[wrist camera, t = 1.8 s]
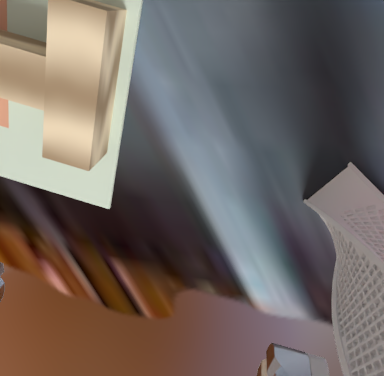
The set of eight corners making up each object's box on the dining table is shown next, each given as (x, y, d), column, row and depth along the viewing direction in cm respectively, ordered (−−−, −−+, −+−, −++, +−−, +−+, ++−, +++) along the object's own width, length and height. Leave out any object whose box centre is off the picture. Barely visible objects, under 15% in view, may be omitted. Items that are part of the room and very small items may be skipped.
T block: (-26, -35, 26) (-69, -41, 23) (126, 9, 26) (107, 10, 22) (-18, 115, 32) (-51, 129, 29) (107, 152, 32) (88, 171, 28)
